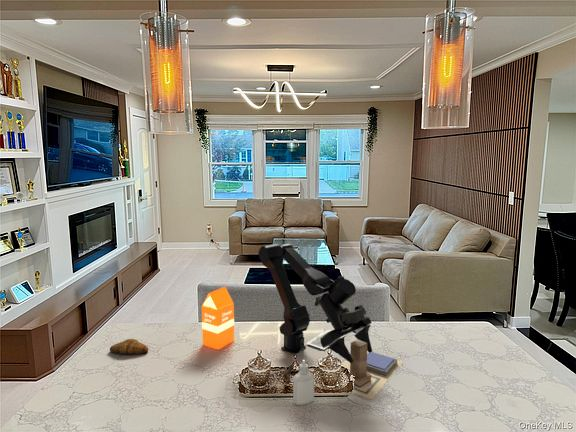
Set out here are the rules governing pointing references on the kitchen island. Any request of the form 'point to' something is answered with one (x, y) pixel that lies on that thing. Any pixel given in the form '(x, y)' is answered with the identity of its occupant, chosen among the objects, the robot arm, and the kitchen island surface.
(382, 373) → the ink pad
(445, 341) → the kitchen island surface
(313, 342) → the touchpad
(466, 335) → the kitchen island surface
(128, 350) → the croissant
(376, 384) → the board
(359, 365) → the walnut stamp
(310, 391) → the eye dropper bottle
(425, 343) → the kitchen island surface
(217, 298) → the orange juice
